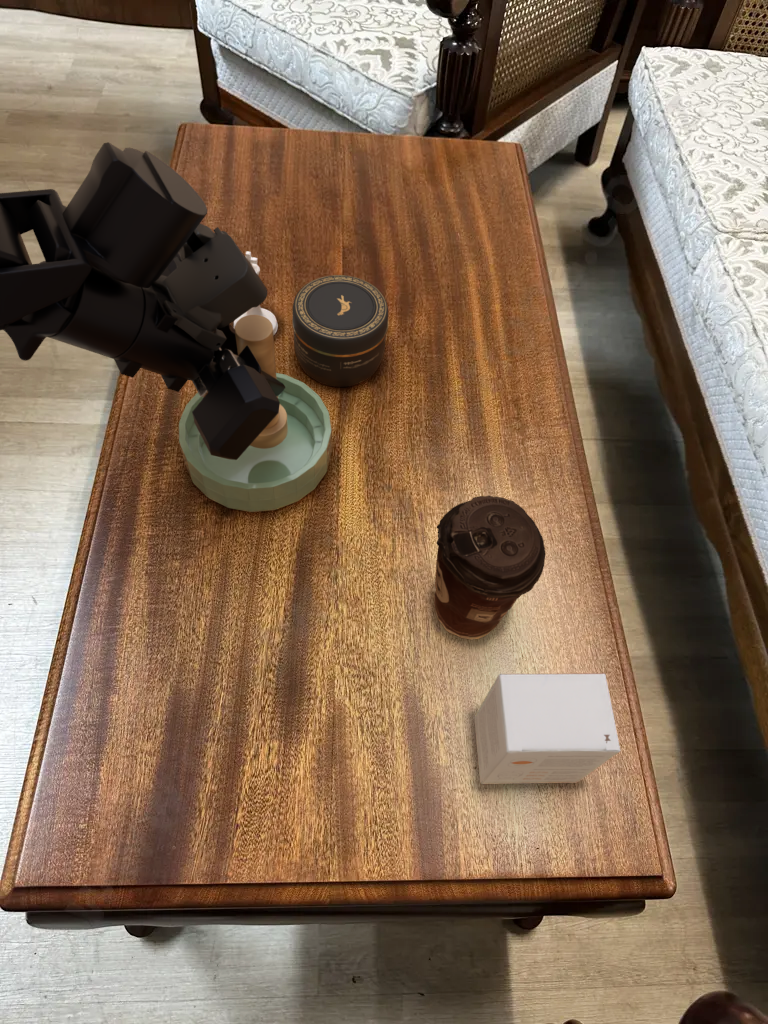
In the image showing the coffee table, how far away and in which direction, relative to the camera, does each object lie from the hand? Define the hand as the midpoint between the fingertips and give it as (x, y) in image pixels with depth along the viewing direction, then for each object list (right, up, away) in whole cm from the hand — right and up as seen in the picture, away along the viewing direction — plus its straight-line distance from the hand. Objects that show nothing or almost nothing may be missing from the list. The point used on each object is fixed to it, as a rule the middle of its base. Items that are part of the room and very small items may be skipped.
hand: (273, 377), depth 63 cm
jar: (+5, +5, +17) cm, 18 cm away
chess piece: (-5, +9, +19) cm, 21 cm away
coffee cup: (+17, -20, +2) cm, 27 cm away
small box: (+21, -31, -4) cm, 38 cm away
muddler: (-2, -4, +5) cm, 7 cm away
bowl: (-3, -6, +9) cm, 11 cm away
